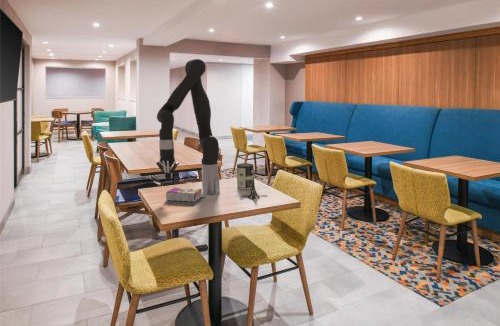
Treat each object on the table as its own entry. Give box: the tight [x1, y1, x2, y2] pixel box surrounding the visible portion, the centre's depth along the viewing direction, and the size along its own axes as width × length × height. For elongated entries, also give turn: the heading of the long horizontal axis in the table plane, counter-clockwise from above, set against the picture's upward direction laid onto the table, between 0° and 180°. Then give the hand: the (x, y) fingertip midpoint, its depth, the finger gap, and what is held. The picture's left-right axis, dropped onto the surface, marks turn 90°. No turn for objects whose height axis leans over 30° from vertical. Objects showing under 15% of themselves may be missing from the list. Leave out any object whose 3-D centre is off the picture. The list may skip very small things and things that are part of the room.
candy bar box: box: [165, 187, 203, 202], centre depth 203 cm, size 11×5×16 cm
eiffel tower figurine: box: [239, 174, 268, 201], centre depth 205 cm, size 15×10×13 cm
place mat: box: [164, 195, 207, 207], centre depth 202 cm, size 17×16×1 cm
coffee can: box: [236, 162, 254, 190], centre depth 227 cm, size 10×10×14 cm
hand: (168, 179), depth 203 cm, fingers closed
